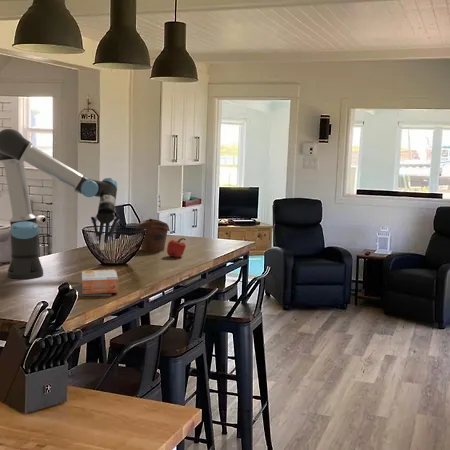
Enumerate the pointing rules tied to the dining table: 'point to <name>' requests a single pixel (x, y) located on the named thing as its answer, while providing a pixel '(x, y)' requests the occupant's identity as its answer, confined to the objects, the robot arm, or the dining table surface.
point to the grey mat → (79, 289)
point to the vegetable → (176, 248)
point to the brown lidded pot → (154, 235)
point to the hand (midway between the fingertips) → (101, 248)
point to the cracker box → (99, 281)
